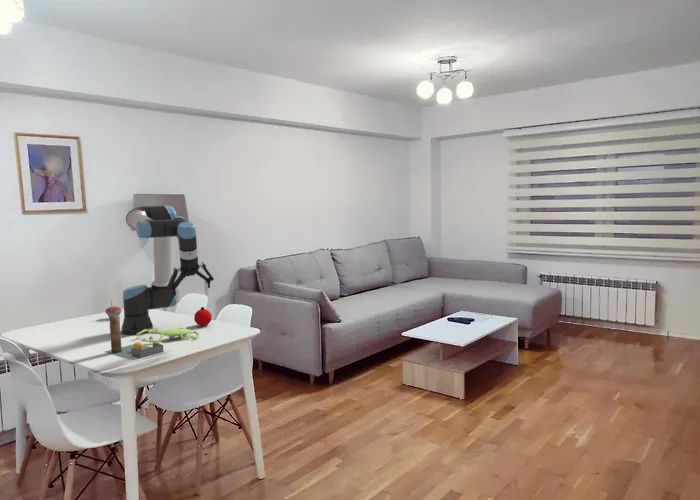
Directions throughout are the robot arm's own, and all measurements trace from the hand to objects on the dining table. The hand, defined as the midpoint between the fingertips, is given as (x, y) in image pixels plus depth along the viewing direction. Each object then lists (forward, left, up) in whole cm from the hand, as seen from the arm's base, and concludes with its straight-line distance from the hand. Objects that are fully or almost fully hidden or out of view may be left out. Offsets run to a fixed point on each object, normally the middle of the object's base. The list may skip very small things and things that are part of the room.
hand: (192, 297), depth 233 cm
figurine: (-18, -2, -23) cm, 29 cm away
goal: (-2, -22, -22) cm, 32 cm away
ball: (-9, -22, -19) cm, 31 cm away
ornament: (-26, +26, -22) cm, 43 cm away
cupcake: (-85, +9, -22) cm, 89 cm away
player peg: (-16, -28, -21) cm, 39 cm away
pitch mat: (-13, -23, -22) cm, 35 cm away
